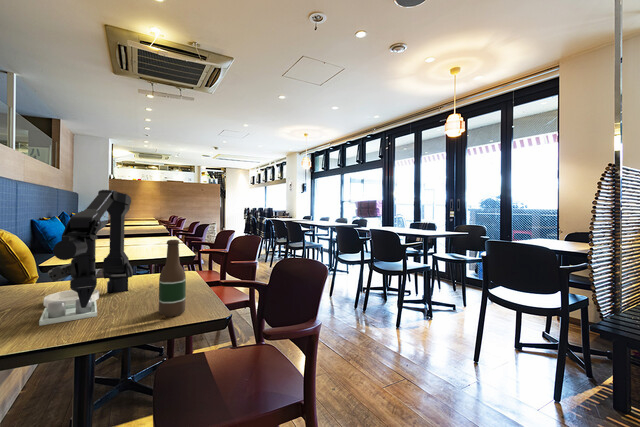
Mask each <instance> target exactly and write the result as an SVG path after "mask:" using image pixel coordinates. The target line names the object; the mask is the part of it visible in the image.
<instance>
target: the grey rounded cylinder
mask: <svg viewBox="0 0 640 427" xmlns="http://www.w3.org/2000/svg"><path fill="white" fill-rule="evenodd" d="M91 311H92V298H90V300H89V302H88V304H87V306H86V307H85V308H81V305H80V301H79V299H77V300H76V312H75V313H76V314H84V313H88V312H91Z"/></svg>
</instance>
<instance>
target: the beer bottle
mask: <svg viewBox="0 0 640 427" xmlns="http://www.w3.org/2000/svg"><path fill="white" fill-rule="evenodd" d="M179 244H180V240H179V239H169V240H167V241H166V245H167V246H166V247H167V249H166V258H165V259H166V260H165V265H164V266H163V267H162V269H161V270H160V273H159V276H158V277H159V278H158V279H159V281H158V313H159V314H160V315H162V316H164V317H165V318H174V317H173V316H175V317H177V316H176V315H179V316H181V315H180V314H182V313H183V312H184V311H186V293H187V292H186V288H187V285H186V284H187V282H186V281H187V280H186V279H187V278H186V271H185V268H184V267H183V266H182V265H181V262H180V249H179ZM184 313H185V312H184ZM184 313H183V314H184ZM183 314H182V315H183Z"/></svg>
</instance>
